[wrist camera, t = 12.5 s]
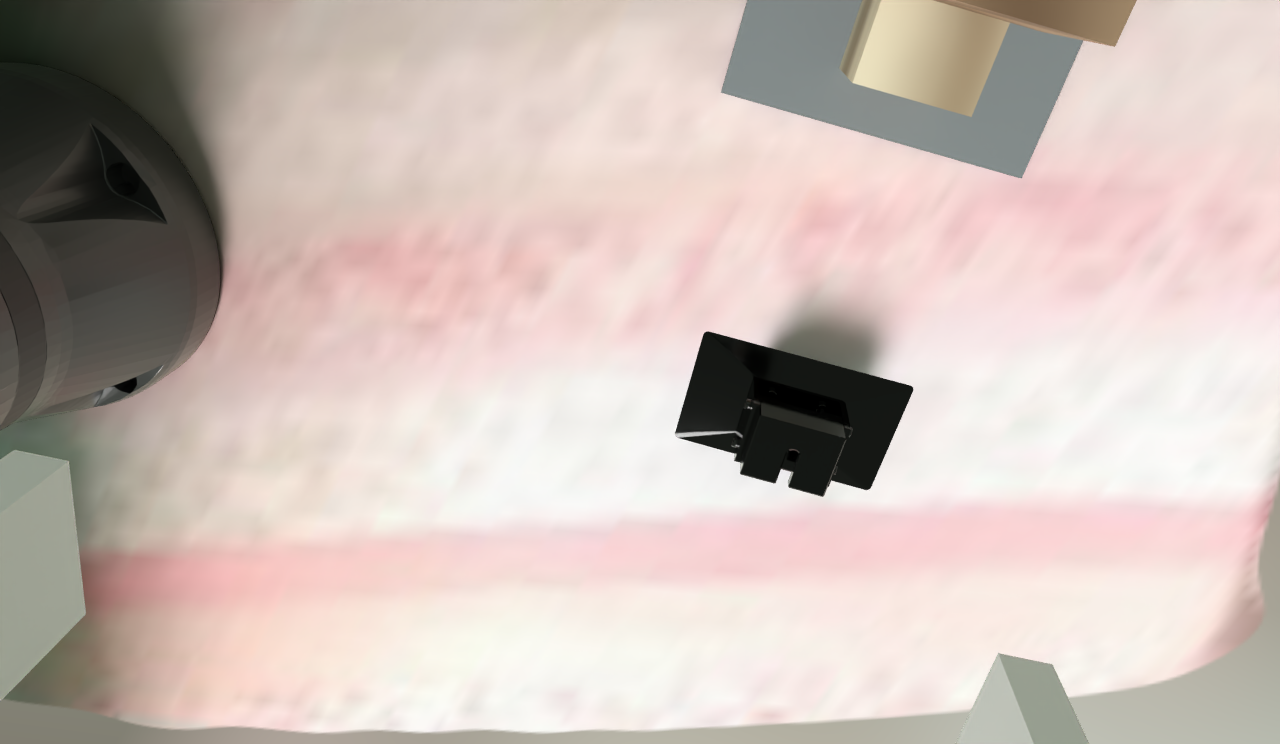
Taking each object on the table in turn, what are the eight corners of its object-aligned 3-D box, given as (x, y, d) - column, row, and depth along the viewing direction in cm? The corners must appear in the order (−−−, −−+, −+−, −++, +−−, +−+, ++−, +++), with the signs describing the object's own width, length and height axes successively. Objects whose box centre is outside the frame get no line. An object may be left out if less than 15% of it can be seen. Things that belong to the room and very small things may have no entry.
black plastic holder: (639, 435, 42) (624, 486, 38) (678, 294, 39) (667, 333, 35) (893, 506, 42) (907, 566, 37) (953, 370, 39) (976, 418, 34)
